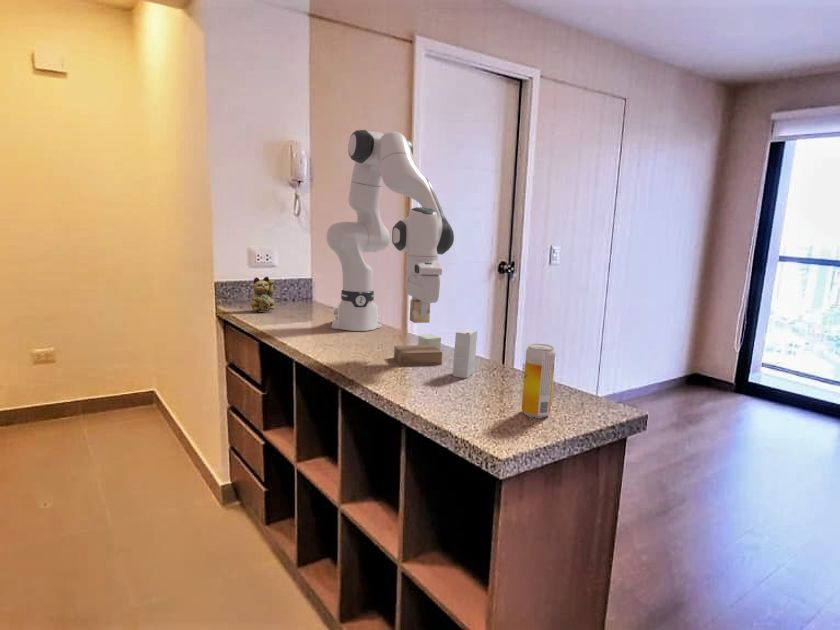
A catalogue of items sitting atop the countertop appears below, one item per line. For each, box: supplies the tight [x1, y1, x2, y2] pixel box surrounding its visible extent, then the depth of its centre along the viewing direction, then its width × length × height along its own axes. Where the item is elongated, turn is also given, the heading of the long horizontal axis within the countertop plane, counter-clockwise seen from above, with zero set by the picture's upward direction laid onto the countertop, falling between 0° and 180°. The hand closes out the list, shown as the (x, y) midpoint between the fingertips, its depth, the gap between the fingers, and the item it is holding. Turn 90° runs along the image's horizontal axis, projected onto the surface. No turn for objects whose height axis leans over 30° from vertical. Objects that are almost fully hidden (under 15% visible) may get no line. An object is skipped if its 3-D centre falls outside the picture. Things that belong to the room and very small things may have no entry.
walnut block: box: [393, 344, 443, 367], centre depth 156 cm, size 9×12×4 cm
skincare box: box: [452, 328, 478, 379], centre depth 143 cm, size 6×4×12 cm
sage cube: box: [418, 334, 442, 351], centre depth 168 cm, size 5×5×5 cm
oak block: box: [409, 299, 431, 324], centre depth 154 cm, size 4×4×6 cm
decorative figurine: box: [250, 276, 275, 313], centre depth 225 cm, size 10×8×15 cm
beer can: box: [521, 343, 556, 419], centre depth 115 cm, size 6×6×15 cm
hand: (419, 314), depth 154 cm, fingers closed on oak block, 4 cm apart
